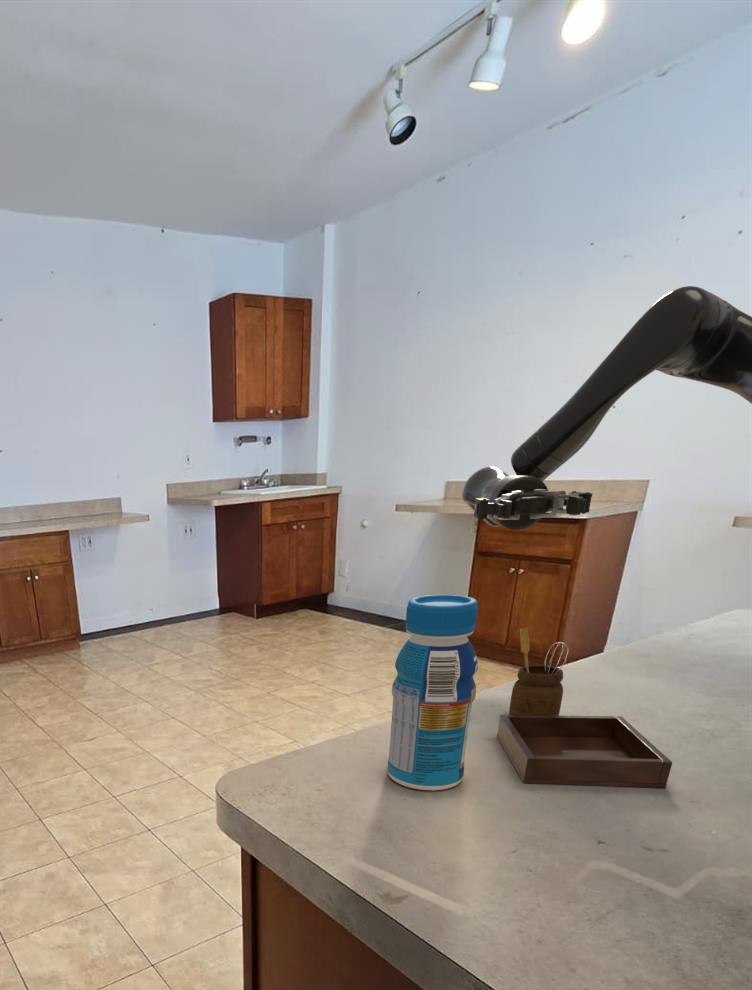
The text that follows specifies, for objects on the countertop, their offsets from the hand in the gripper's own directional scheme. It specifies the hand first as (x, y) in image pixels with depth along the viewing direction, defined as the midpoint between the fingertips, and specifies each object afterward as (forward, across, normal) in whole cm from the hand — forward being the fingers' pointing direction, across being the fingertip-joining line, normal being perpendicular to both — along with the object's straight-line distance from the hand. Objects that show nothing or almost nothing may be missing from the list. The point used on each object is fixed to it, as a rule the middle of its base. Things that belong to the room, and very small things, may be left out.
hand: (543, 508), depth 85 cm
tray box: (+24, +1, +26) cm, 35 cm away
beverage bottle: (+30, -16, +26) cm, 43 cm away
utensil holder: (+11, 0, +26) cm, 28 cm away
